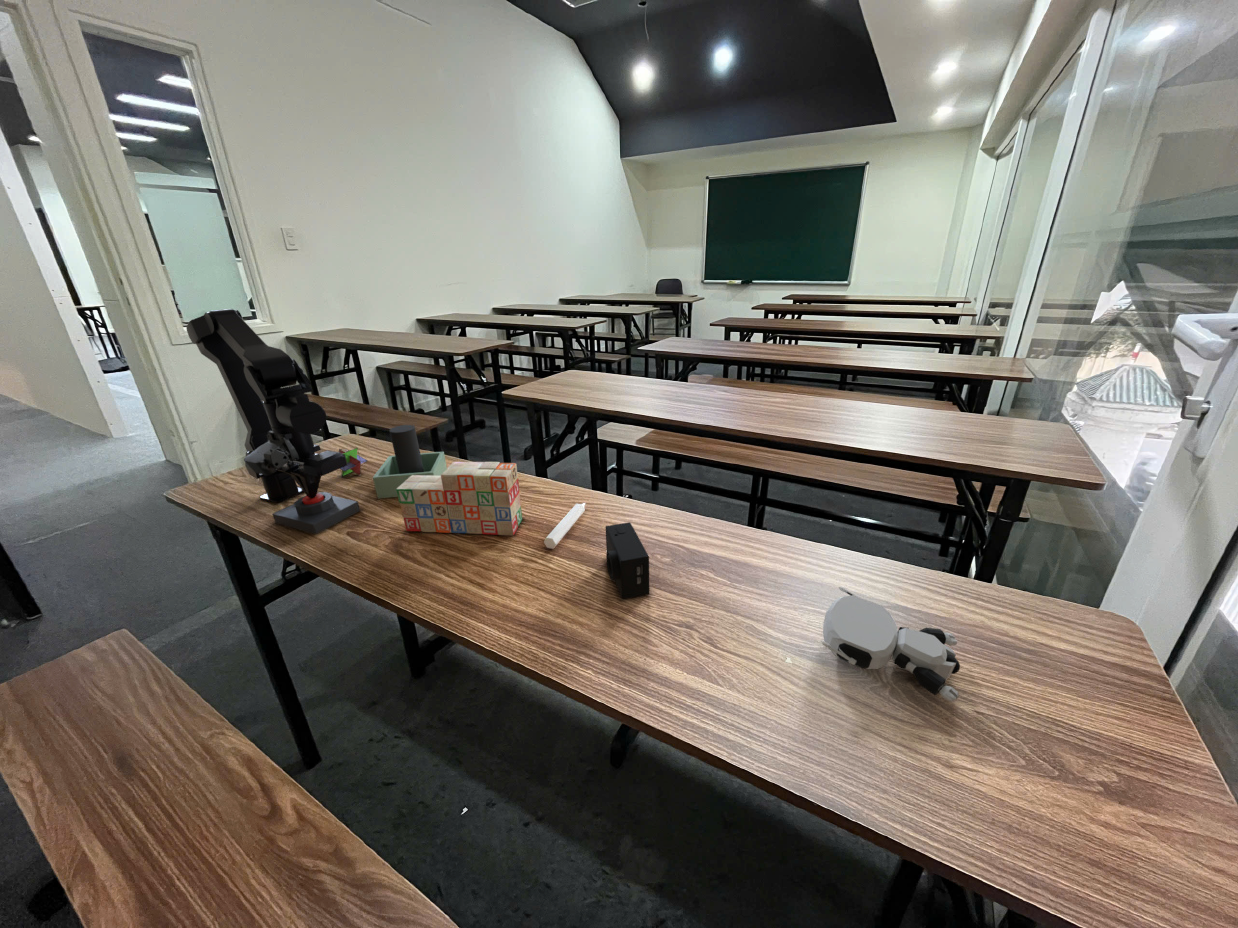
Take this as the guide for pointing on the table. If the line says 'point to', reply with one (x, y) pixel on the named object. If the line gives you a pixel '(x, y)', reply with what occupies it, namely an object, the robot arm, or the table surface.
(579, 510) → the marker
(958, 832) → the table surface
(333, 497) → the control block
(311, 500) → the button
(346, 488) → the table surface
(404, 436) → the dark grey cylinder
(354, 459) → the geometric puzzle
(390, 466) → the tote
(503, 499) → the stack of blocks
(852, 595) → the robot toy
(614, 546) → the digital camera
